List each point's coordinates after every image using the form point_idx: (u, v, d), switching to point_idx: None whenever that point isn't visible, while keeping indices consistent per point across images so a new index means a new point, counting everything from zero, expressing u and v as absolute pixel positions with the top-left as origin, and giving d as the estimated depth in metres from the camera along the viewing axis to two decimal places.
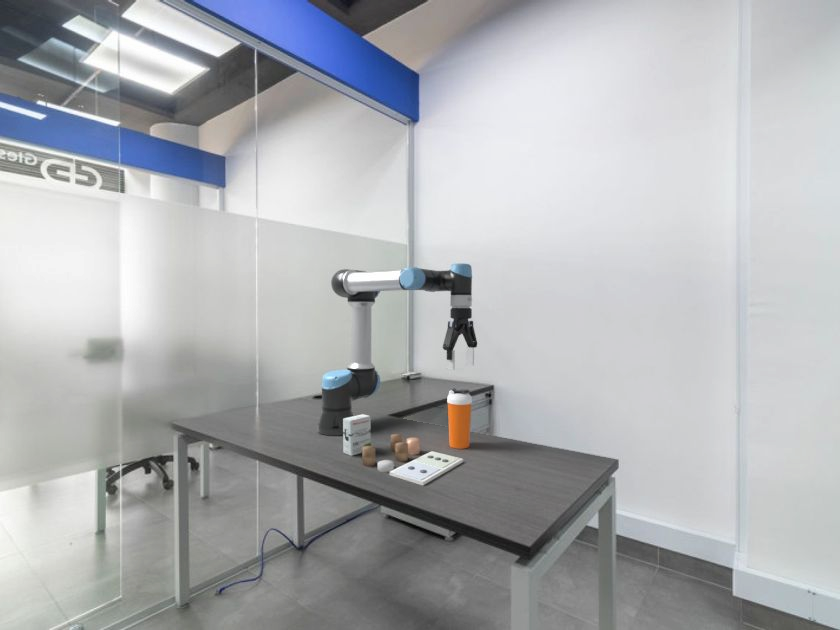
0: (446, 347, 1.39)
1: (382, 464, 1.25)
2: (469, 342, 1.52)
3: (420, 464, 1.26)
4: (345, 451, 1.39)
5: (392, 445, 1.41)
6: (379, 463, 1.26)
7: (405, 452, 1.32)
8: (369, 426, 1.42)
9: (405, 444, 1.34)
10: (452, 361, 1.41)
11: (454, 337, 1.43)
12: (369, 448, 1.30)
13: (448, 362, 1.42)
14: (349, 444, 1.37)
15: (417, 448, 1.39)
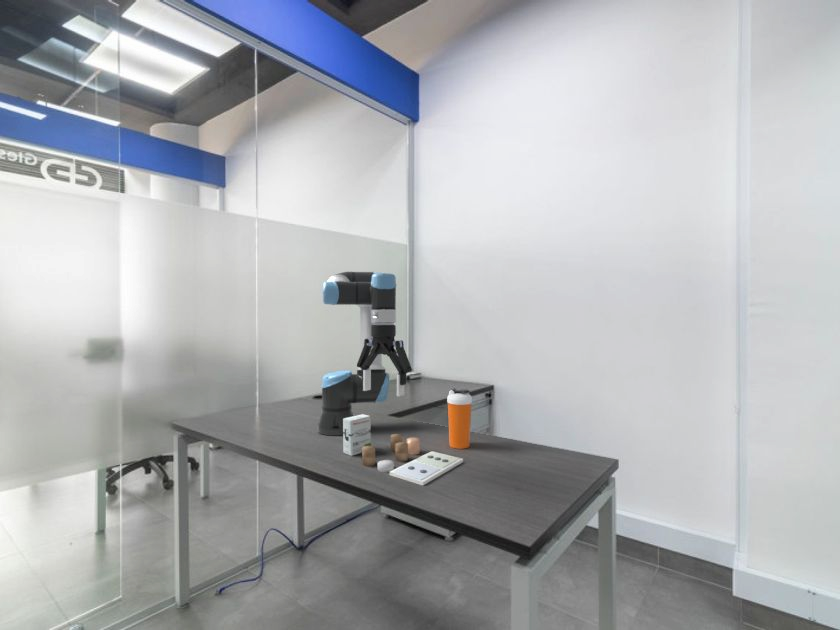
0: None
1: (382, 464, 1.25)
2: None
3: (420, 464, 1.26)
4: (345, 451, 1.39)
5: (392, 445, 1.41)
6: (379, 463, 1.25)
7: (405, 452, 1.32)
8: (369, 426, 1.42)
9: (405, 443, 1.34)
10: None
11: None
12: (369, 448, 1.30)
13: None
14: (349, 444, 1.37)
15: (417, 448, 1.39)
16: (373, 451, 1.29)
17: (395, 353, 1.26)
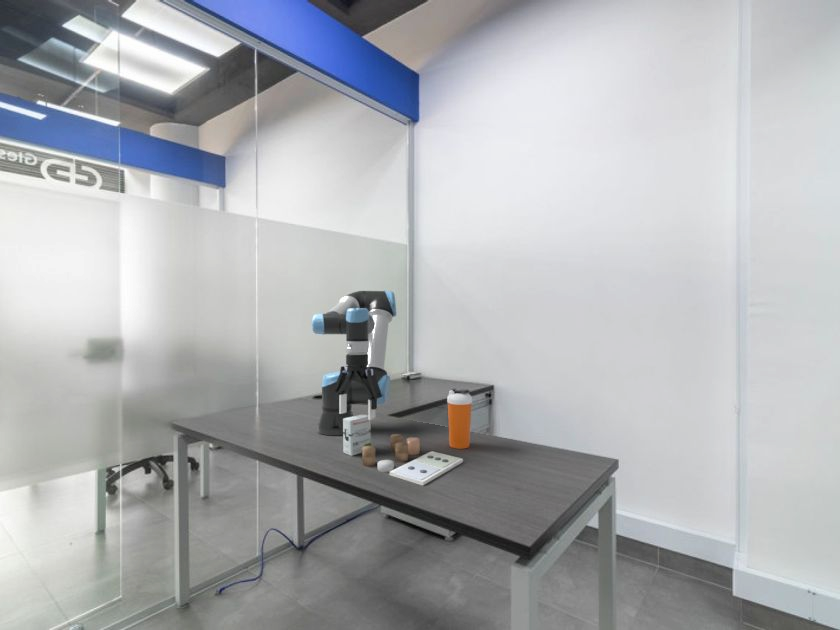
0: None
1: (383, 464, 1.25)
2: None
3: (420, 464, 1.26)
4: (345, 451, 1.39)
5: (392, 445, 1.41)
6: (379, 463, 1.25)
7: (405, 452, 1.32)
8: (369, 426, 1.42)
9: (405, 443, 1.34)
10: None
11: None
12: (369, 448, 1.30)
13: None
14: (349, 444, 1.37)
15: (417, 448, 1.39)
16: (373, 451, 1.29)
17: (367, 380, 1.39)
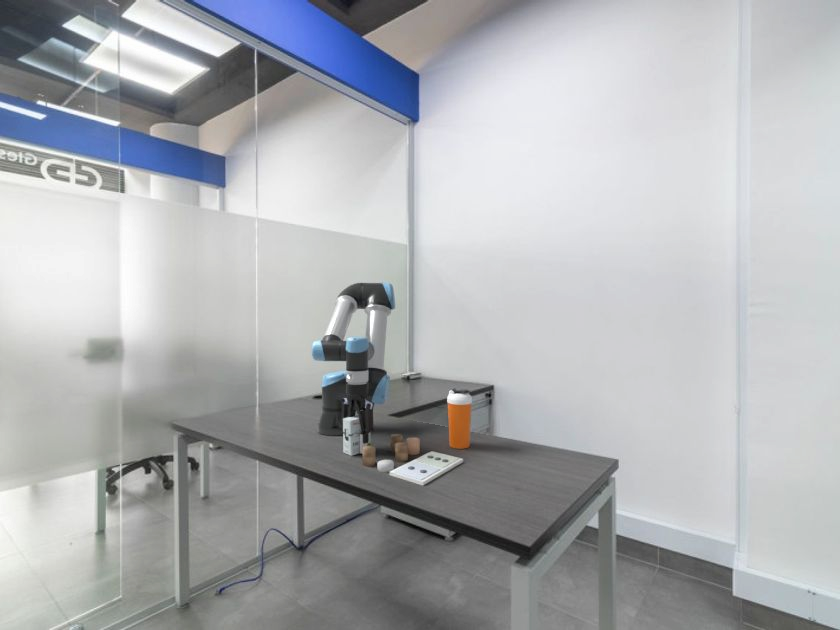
0: None
1: (383, 464, 1.24)
2: None
3: (420, 464, 1.26)
4: (345, 451, 1.39)
5: (392, 445, 1.41)
6: (379, 464, 1.25)
7: (405, 452, 1.32)
8: None
9: (405, 443, 1.34)
10: None
11: None
12: (369, 448, 1.30)
13: None
14: (349, 443, 1.37)
15: (417, 448, 1.39)
16: (373, 451, 1.29)
17: (364, 412, 1.40)
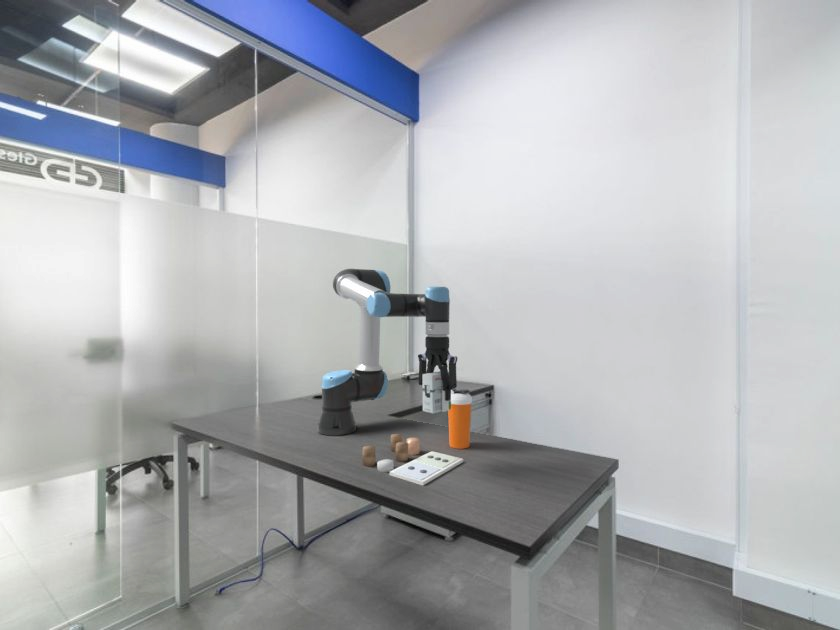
0: None
1: (385, 464, 1.24)
2: None
3: (420, 464, 1.26)
4: (426, 409, 1.28)
5: (392, 445, 1.41)
6: (381, 464, 1.24)
7: (406, 452, 1.33)
8: None
9: (406, 443, 1.34)
10: None
11: None
12: (369, 448, 1.30)
13: None
14: (431, 400, 1.26)
15: (417, 448, 1.39)
16: (374, 451, 1.29)
17: (446, 367, 1.30)
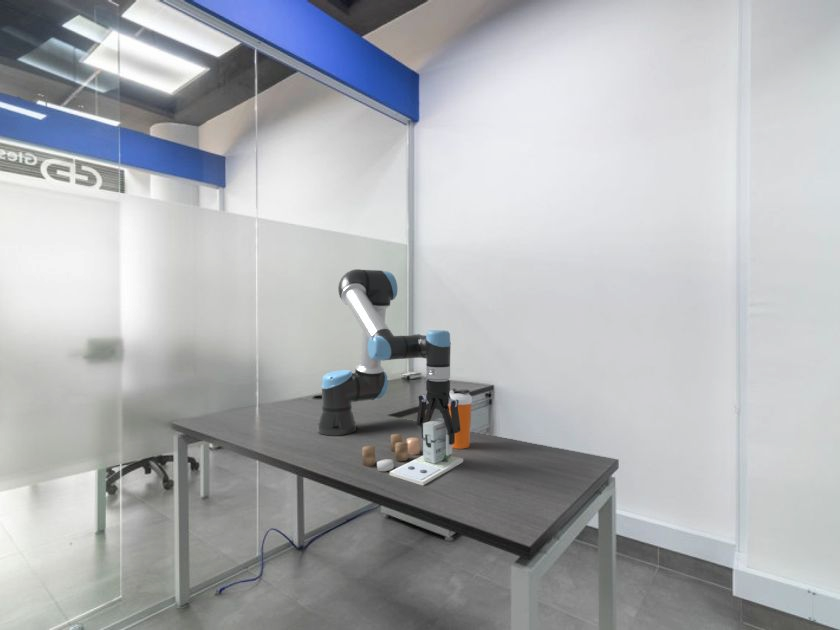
0: None
1: (390, 461, 1.26)
2: None
3: (420, 464, 1.26)
4: (426, 458, 1.28)
5: (392, 445, 1.41)
6: (388, 463, 1.25)
7: (406, 451, 1.33)
8: None
9: (405, 443, 1.35)
10: None
11: None
12: (369, 448, 1.30)
13: None
14: (432, 450, 1.27)
15: (417, 448, 1.39)
16: (373, 451, 1.29)
17: (448, 410, 1.30)
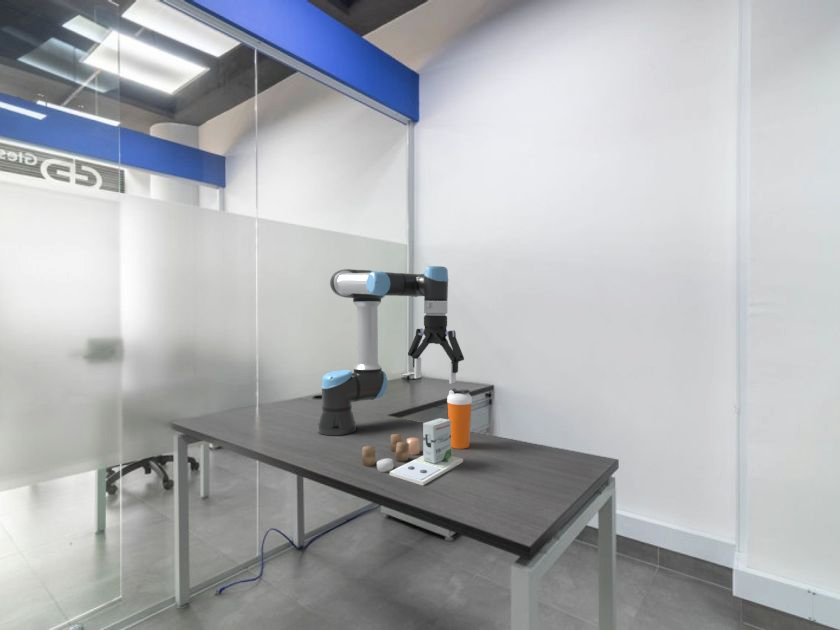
0: None
1: (386, 459, 1.27)
2: None
3: (420, 464, 1.26)
4: (426, 458, 1.28)
5: (392, 445, 1.41)
6: (390, 459, 1.27)
7: None
8: (450, 431, 1.32)
9: (405, 443, 1.35)
10: None
11: None
12: (369, 448, 1.30)
13: None
14: (432, 450, 1.27)
15: (417, 448, 1.39)
16: (374, 451, 1.29)
17: (447, 342, 1.32)
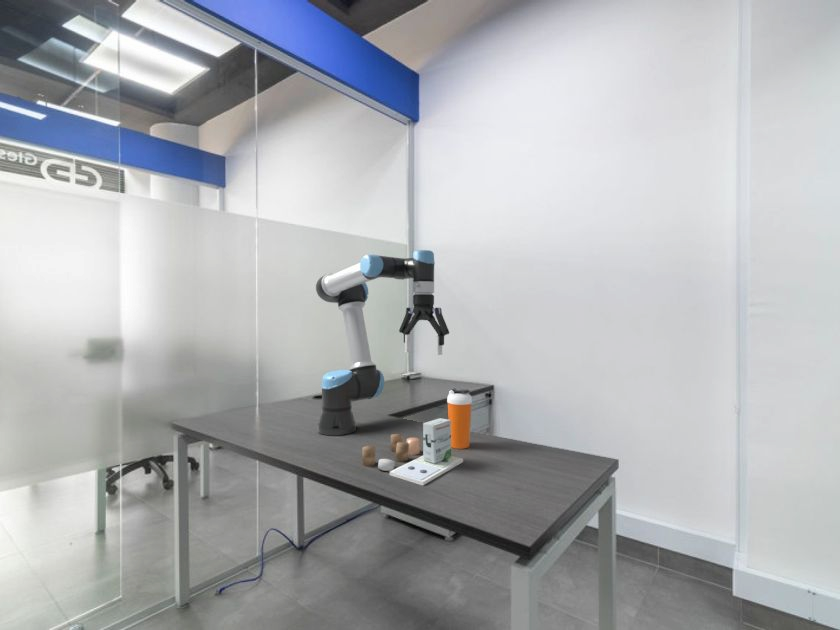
0: None
1: (382, 460, 1.27)
2: None
3: (420, 464, 1.26)
4: (426, 458, 1.28)
5: (392, 445, 1.41)
6: (384, 459, 1.28)
7: (408, 450, 1.34)
8: (450, 431, 1.32)
9: (404, 442, 1.35)
10: None
11: None
12: (369, 448, 1.30)
13: None
14: (432, 450, 1.27)
15: (417, 448, 1.39)
16: (374, 451, 1.29)
17: (434, 319, 1.46)
